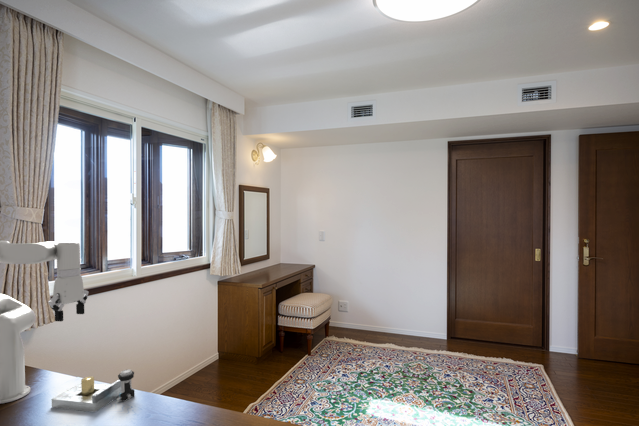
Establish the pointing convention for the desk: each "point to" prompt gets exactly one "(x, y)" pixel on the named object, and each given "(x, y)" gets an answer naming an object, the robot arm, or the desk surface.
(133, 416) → the desk surface
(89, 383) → the gold domed cylinder
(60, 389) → the desk surface
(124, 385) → the push button
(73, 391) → the jig
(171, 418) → the desk surface
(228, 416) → the desk surface
